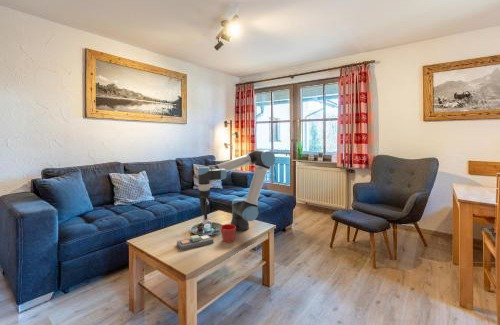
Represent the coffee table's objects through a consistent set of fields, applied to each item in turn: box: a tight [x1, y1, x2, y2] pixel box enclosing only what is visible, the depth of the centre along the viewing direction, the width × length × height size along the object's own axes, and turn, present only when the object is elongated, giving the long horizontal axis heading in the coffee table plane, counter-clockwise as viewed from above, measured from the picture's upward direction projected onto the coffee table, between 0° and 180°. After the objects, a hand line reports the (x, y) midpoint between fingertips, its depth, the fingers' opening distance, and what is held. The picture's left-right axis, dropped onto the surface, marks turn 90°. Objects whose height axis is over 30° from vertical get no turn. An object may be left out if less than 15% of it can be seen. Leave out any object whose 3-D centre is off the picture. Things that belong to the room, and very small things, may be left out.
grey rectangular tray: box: [176, 234, 214, 251], centre depth 173 cm, size 22×10×3 cm, turn 122°
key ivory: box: [200, 234, 210, 240], centre depth 177 cm, size 5×5×2 cm
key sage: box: [190, 234, 200, 242], centre depth 173 cm, size 5×5×2 cm
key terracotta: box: [180, 239, 190, 245], centre depth 169 cm, size 5×5×2 cm
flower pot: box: [220, 223, 236, 243], centre depth 180 cm, size 11×11×10 cm
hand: (205, 223), depth 176 cm, fingers closed
